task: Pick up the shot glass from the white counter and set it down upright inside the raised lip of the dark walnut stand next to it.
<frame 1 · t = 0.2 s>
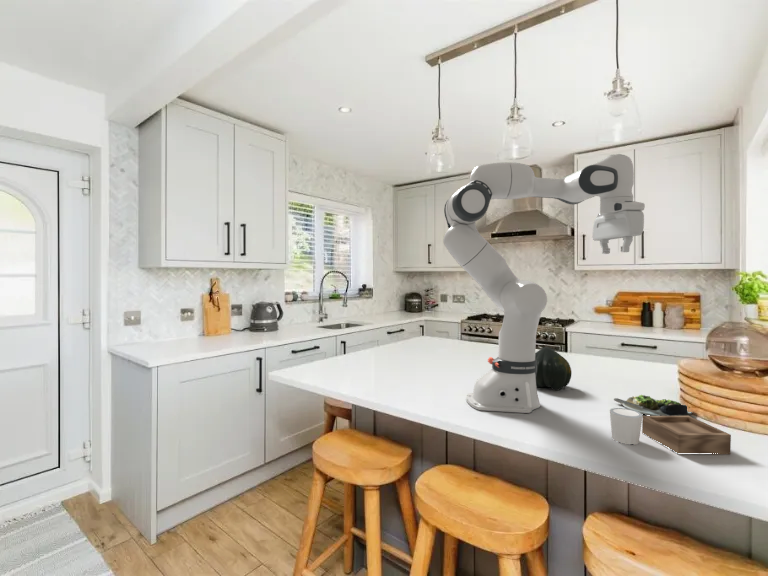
hand: (615, 253, 123), 47 cm above the countertop, tool pointing down, fingers open, 8 cm apart
walnut stand: (683, 443, 95), on the countertop
salad plate: (658, 413, 117), on the countertop
squash: (547, 387, 142), on the countertop
shot glass: (625, 440, 96), on the countertop
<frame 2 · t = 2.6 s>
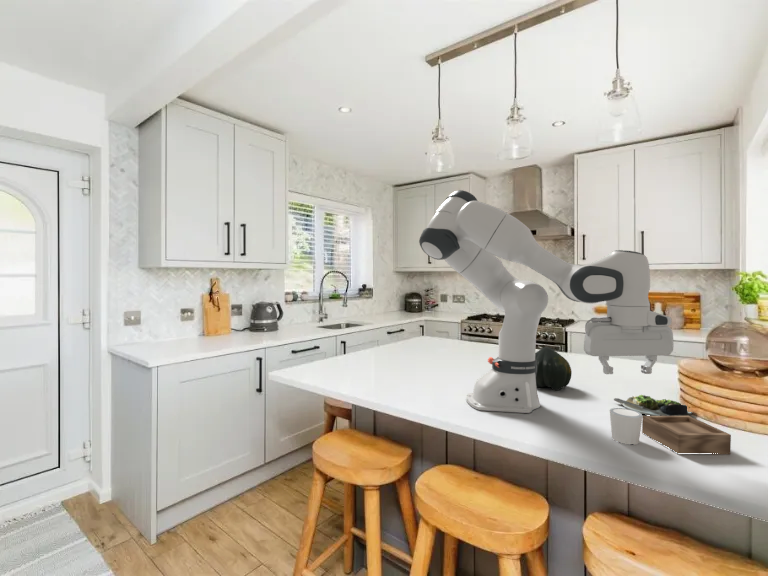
hand: (627, 373, 96), 17 cm above the countertop, tool pointing down, fingers open, 8 cm apart
nothing on the countertop moved.
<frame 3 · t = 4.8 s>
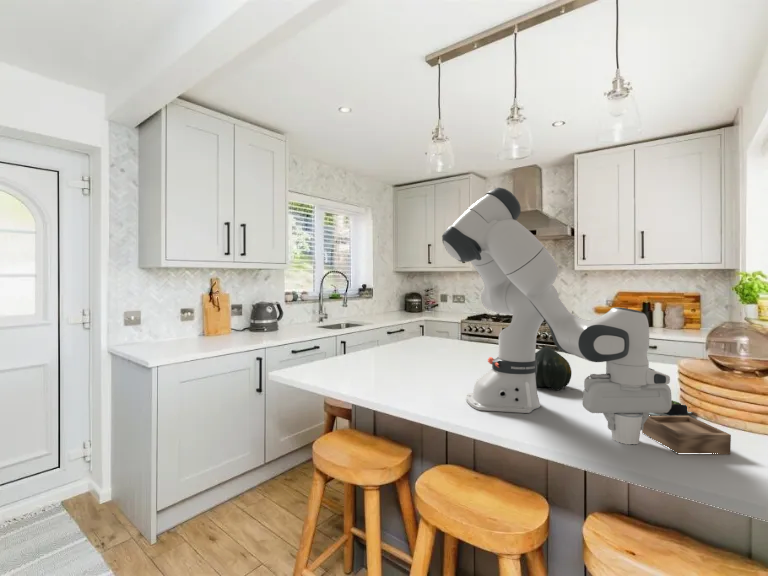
hand: (625, 429, 96), 3 cm above the countertop, tool pointing down, fingers closed on shot glass, 5 cm apart
shot glass: (625, 440, 96), on the countertop, touching gripper
everything else where it was.
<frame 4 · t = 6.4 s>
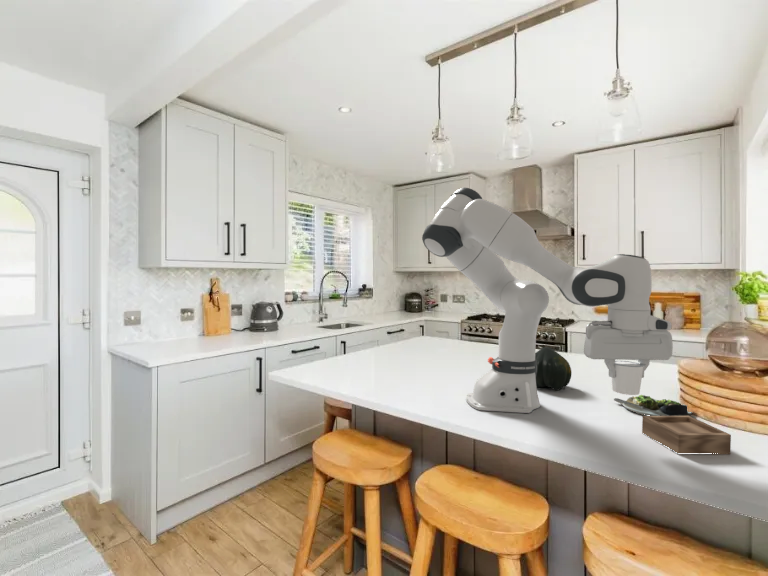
hand: (626, 377, 96), 16 cm above the countertop, tool pointing down, fingers closed on shot glass, 5 cm apart
shot glass: (625, 392, 96), point 12 cm above the countertop, touching gripper
everything else where it was.
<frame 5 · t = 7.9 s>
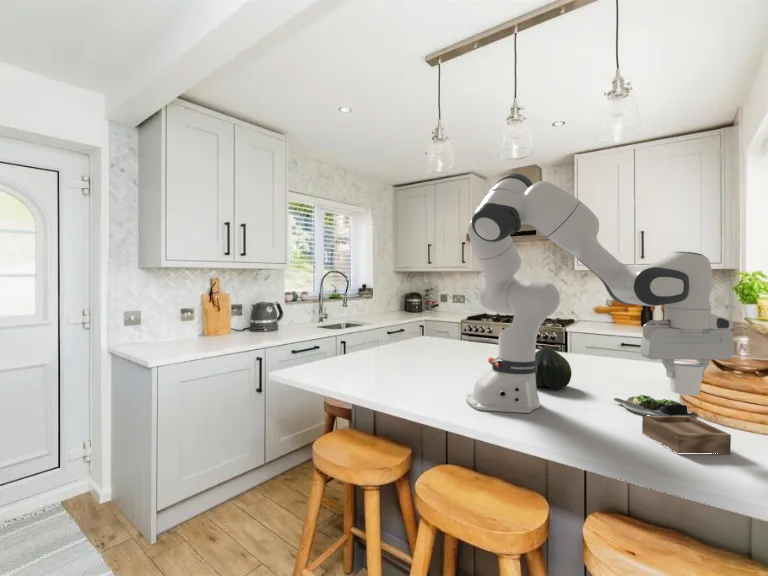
hand: (684, 377, 94), 16 cm above the countertop, tool pointing down, fingers closed on shot glass, 5 cm apart
shot glass: (684, 392, 94), point 12 cm above the countertop, touching gripper
everything else where it was.
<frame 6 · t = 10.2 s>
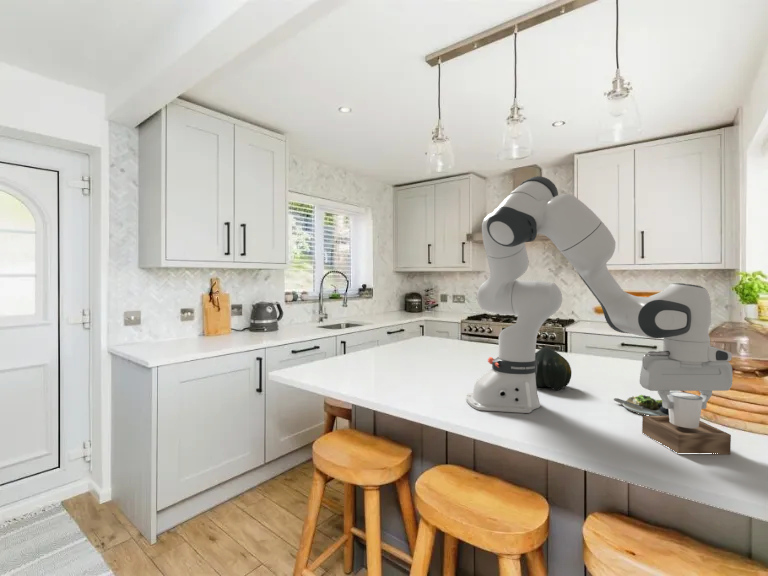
hand: (684, 408, 94), 9 cm above the countertop, tool pointing down, fingers closed on shot glass, 7 cm apart
shot glass: (683, 424, 94), point 5 cm above the countertop, touching gripper
everything else where it was.
when the fingers open (9 cm above the countertop, at t = 10.2 s): shot glass drops 1 cm, resting on walnut stand.
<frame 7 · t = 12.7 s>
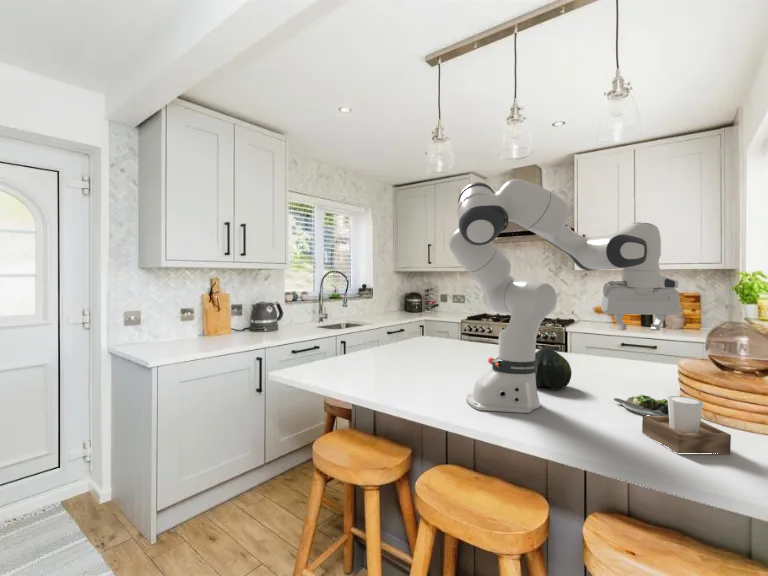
hand: (638, 330, 110), 25 cm above the countertop, tool pointing down, fingers open, 8 cm apart
shot glass: (684, 429, 95), point 3 cm above the countertop, touching walnut stand
everything else where it was.
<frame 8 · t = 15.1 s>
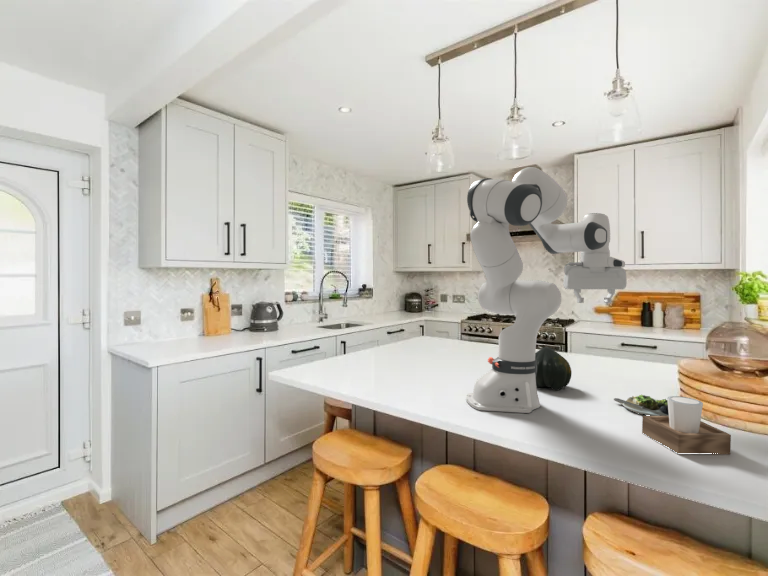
hand: (594, 302, 133), 31 cm above the countertop, tool pointing down, fingers open, 8 cm apart
nothing on the countertop moved.
at the end: shot glass 0.1 cm off-centre on the walnut stand, point 3.3 cm above the walnut stand's base; shot glass tilted 0°; the gripper is holding nothing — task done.
